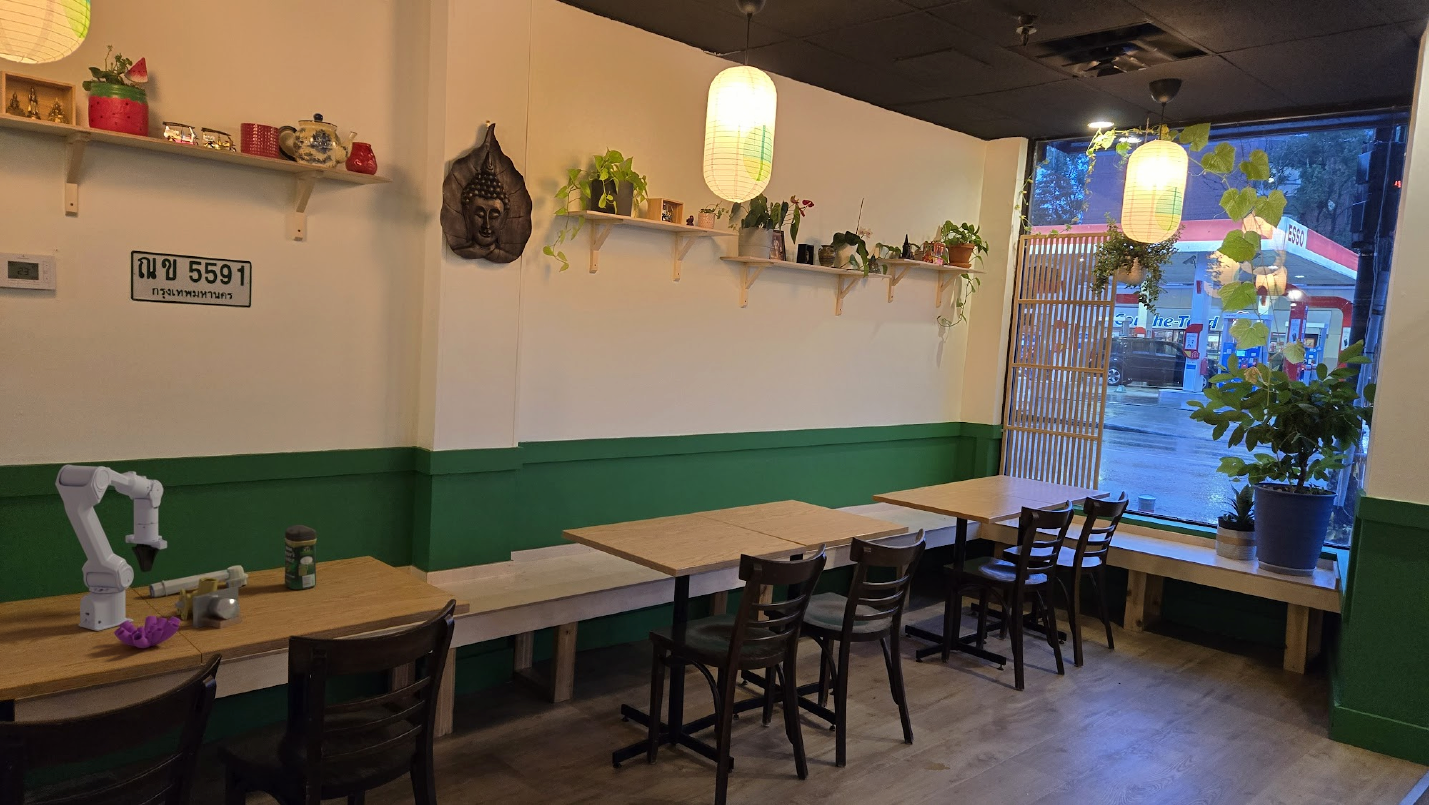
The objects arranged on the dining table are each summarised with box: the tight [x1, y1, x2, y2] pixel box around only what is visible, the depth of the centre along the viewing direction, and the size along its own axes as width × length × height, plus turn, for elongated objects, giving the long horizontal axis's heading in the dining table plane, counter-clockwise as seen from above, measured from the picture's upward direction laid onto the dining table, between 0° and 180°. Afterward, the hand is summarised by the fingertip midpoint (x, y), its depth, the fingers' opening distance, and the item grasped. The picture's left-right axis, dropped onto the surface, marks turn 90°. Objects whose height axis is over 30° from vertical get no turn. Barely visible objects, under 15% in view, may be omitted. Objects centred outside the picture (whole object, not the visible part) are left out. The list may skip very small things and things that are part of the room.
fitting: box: [192, 586, 243, 629], centre depth 244 cm, size 12×7×8 cm, turn 156°
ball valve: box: [174, 577, 219, 621], centre depth 250 cm, size 13×10×10 cm
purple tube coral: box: [113, 615, 182, 649], centre depth 226 cm, size 11×15×10 cm
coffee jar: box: [284, 524, 318, 591], centre depth 280 cm, size 10×8×19 cm
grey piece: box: [148, 565, 249, 599], centre depth 272 cm, size 5×7×25 cm
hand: (146, 571), depth 255 cm, fingers closed
